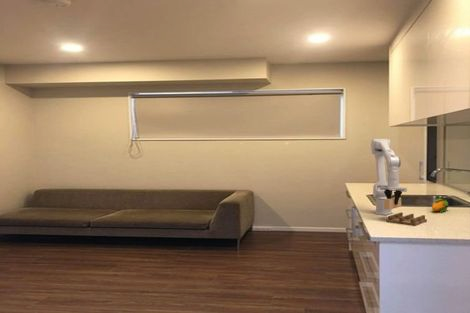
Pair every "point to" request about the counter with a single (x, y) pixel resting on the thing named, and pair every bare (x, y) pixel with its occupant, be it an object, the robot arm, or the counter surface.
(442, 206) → the corn
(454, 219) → the counter surface
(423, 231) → the counter surface
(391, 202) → the clay bar
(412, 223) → the drying rack
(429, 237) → the counter surface
